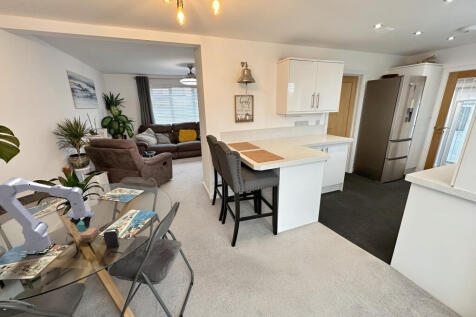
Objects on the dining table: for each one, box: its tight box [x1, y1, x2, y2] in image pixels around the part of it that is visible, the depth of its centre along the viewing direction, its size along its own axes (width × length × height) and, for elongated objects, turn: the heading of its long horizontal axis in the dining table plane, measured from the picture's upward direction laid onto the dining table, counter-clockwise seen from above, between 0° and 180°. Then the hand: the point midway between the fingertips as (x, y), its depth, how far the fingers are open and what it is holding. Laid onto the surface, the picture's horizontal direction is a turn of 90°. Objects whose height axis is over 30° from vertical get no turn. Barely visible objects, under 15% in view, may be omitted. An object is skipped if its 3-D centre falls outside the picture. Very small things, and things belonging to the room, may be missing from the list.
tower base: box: [78, 230, 100, 243], centre depth 115 cm, size 7×7×2 cm
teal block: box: [75, 220, 91, 233], centre depth 110 cm, size 4×4×5 cm
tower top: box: [80, 227, 98, 239], centre depth 115 cm, size 6×6×2 cm
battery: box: [102, 228, 121, 249], centre depth 109 cm, size 7×4×11 cm, turn 104°
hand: (83, 227), depth 111 cm, fingers closed on teal block, 4 cm apart
